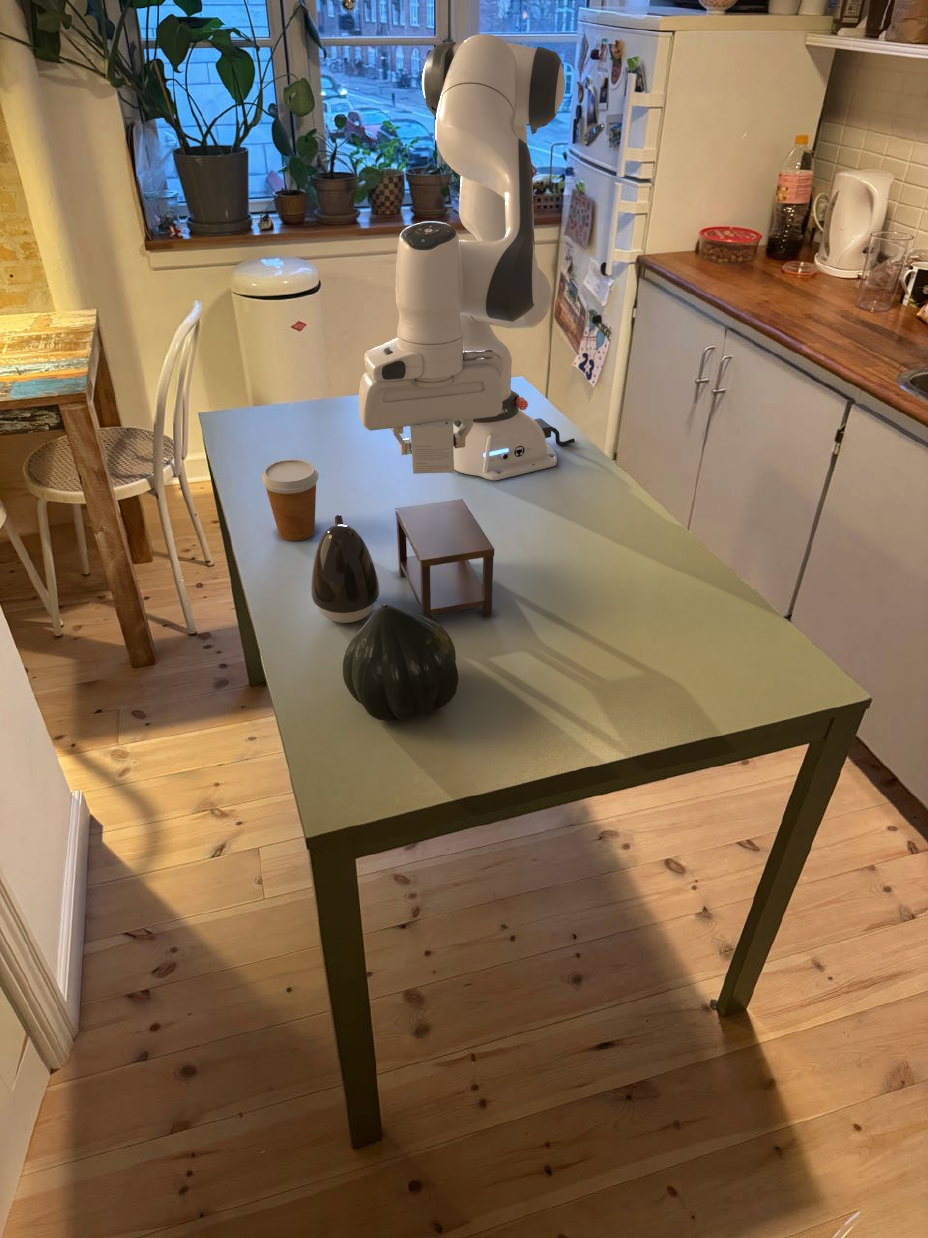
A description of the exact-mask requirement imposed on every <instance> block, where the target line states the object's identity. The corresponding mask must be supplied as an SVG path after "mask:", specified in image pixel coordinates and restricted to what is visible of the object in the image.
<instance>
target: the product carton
mask: <svg viewBox="0 0 928 1238" xmlns="http://www.w3.org/2000/svg"><path fill="white" fill-rule="evenodd" d="M409 431H410V442H411V450H412V454H411V465H412V474H413V475H417V474H449V473H454V472H455V470H454V434H453V421H442V422H433V423H426V424H418V425H411V426H409Z"/></svg>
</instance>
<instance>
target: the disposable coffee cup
mask: <svg viewBox="0 0 928 1238" xmlns="http://www.w3.org/2000/svg"><path fill="white" fill-rule="evenodd" d="M318 480H319V472H318V471H317V469H316V467H315V465H314V464H313V463H312V462H310V461H307V460H305V459H299V458H298V459H297V458H289V459H281V460H277V461H274V462H272V463H269V464H268V465H267V466H265V468H264V469H263V473H262V476H261V483H262V485H263V487H264V488H265V489H266V493H267V497H268V500H269V504H270V507H271V510H272V514H273V515H272V516H273V519H274V522H275V525H276V529H277V532H278V536H279V537H280V538H281V539H282V540H286V541H291V542H297V541H304V540H306V539H308V538H310V537H312V536H313V535H314V534H315V531H316V504H317V503H316V502H317V500H316V498H317V482H318Z"/></svg>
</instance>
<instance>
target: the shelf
mask: <svg viewBox="0 0 928 1238" xmlns="http://www.w3.org/2000/svg"><path fill="white" fill-rule="evenodd" d="M394 511H395V513H394V514H395V519H396V538H397V539H396V540H397V559H398V560H397V561H398V574H399V576H400V577H405V578H406V581H407V583H408V585H409V587H410V589H411V591H412V593H413V596H414V598H415V600H416V602H417V604H418V607H419V609H420V611H421V616H424V617H426V618H428V619H430V620H432V616H434V615H439V614H445V613H450V612H456V611H457V612H458V611H462V610H467V609H474V608H479V607H481V613H482V614H481V615H483V617H484V618H486V617H491V616H493V587H494V585H493V582H494V580H493V579H494V557H495V548H494V546H493V544H492V543H491V541H490V539H489V538H488V536H487V535H486V533H485V532H484V530H483V528H482V527H481V525H480V524H479V523H478V521H477V519H476V518H475V517H474V515H473V513H472V512H471V510H470V508H469V507H468V505H467V504H466V501H464V499H463V498H460V499H453V500H446V501H445V500H444V501H439V502H432V503H425V504H424V503H423V504H415V505H410V506H403V507H396V508H394ZM407 541H408V543H409V545H410V547H411V550H412V551H413V553H414V555H409V556H408V552H407V551H408V549H407ZM477 559H482V581H481V580H480V578H479V576H478V574H477V573H476V571H475V569H474V568H473V566H472V564H471V562H470V560H477Z"/></svg>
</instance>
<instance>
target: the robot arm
mask: <svg viewBox="0 0 928 1238" xmlns="http://www.w3.org/2000/svg"><path fill="white" fill-rule="evenodd" d="M421 80H422V92H423V96H424V99H425V100H424V102H425V106H426V107H427V109H428V110H429V112H431V114H432V116H434V117H435V118H436V119H435V131H434V133H435V134H434V135H435V143H436V147H437V150H438V151H439V154H440V156H441V157H442V159H443V160H444V162H445V163H446V164H447V165H448V166H449V168H451V169H452V171H454V172H455V173H456V174H458V175H459V176H460V184H459V202H458V215H459V220H460V222H461V224H462V226H463V227H464V228H465V229H466V230H467V232H469V233H470V234H472V235H473V236H474V238H475V239H476V240H471V239H460V237H459V233H458V231H457V229H456V228H455V227H454V226H453V225H450V224H449V223H448V224H447V223H445V222H441V221H421V222H418V223H413V224H411V225H409V226H407V227H405V228H404V229H403V230H402V231H401V233H400V234H399V238H398V243H397V250H396V260H395V279H394V280H395V286H394V287H395V289H394V290H395V302H396V306H397V310H398V316H399V317H398V325H397V329H396V338H394V339H392V340H390V341H388V342H385V343H384V344H381V345H379V346H377V347H373V348H372V349H369V350H366V352H365V353H364V355H363V360H364V365H365V368H366V371H365V372H364V373H363V374H362V376H361V379H360V382H359V390H358V417H359V420H360V422H361V424H362V426H363V427H364V428H365V429H366V430H368V431H371V432H372V431H380V430H389V429H390V430H391V432H392V434H393V436H394V437H395V439H396V440H397V441H398V450H399V453H400V455H401V456H407V455H412V450H411V439H410V438H403V436H402V434H404V428H405V427H406V428H407V427H410V426H411V425H418V424H426V423H433V422H442V421H453V434H454V471H456V472H458V473H461V474H466V475H469V476H475V477H476V476H478V477H481V478H483V479H486V480H490V481H501V480H503V479H507V478H511V477H516V476H519V475H524V474H528V473H532V472H536V471H540V470H544V469H549V468H553V467H555V466H556V465H557V463H558V457H557V453H556V451H555V449H554V448H553V447H552V446H551V445H550V444H549V443H548V442H547V440H546V439H549V438H552V433H553V434H554V436H555V439H554V440H555V443H556V445H557V446H559V447H565V446H568V445H571V444H574V443H575V442H576V439H575V437H573V438H569V439H567V440H565V441H561V439H560V438H561V435H560V432H559V430H558V429H557V428H555V427H554V426H552V425H551V424H549V423H548V422H546V421H545V420H544V419H543V418H542V417H540V418H532V417H531V416H530V415H528V414H527V413H526V412H524V411H525V410H527V408H528V406H529V402H528V401H527V400H526V399H525V398H524V397H522V396H521V397H520V394H518V393H517V392H515V391H513V389H512V365H513V359H512V358H513V357H512V355H511V352H510V350H509V348H508V347H507V346H506V345H505V344H504V343H503V341H501V339H499V338H498V337H497V336H496V334H495V333H494V331H493V328H492V327H491V326H495V327H501V328H506V329H533V328H535V327H537V326H538V325H539V324H541V323H542V321H543V320H545V318H546V316H547V315H548V312H549V311H550V307H551V305H552V288H551V287H552V286H551V283H550V281H549V279H548V277H547V275H546V274H545V273H544V271H543V270H542V269H541V268H540V267H539V265H538V260H537V256H536V249H535V248H536V247H535V245H536V244H535V211H534V210H535V209H534V208H535V207H534V205H535V204H534V181H533V166H532V159H531V158H532V157H531V152H530V149H529V146H528V128H527V127H528V126H529V128H530V132H531V133H530V134H531V135H535V134H536V133H537V131H538V129H540V128H543V127H545V126H548V125H549V124H550V123H551V122H552V121H553V120H554V119H555V118H556V117H557V114H558V111H559V109H560V107H561V105H562V103H563V100H564V96H565V90H566V77H565V72H564V68H563V61H562V59H561V57H560V56H559V54H558V53H557V52H556V51H554V50H552V49H549V48H546V47H543V46H537V47H532V46H528V45H523V44H518V43H512V42H507V41H505V40H503V39H502V38H500V37H498V36H496V35H494V34H490V33H479V34H474V35H472V36H470V37H468V38H466V39H465V40H463V42H461V43H457V42H456V41H447V42H443V43H439V44H437V45H435V46H434V47H433V48H432V49H431V50H430V52H428V53H427V57H426V61H425V64H424V68H423V72H422V78H421Z"/></svg>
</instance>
